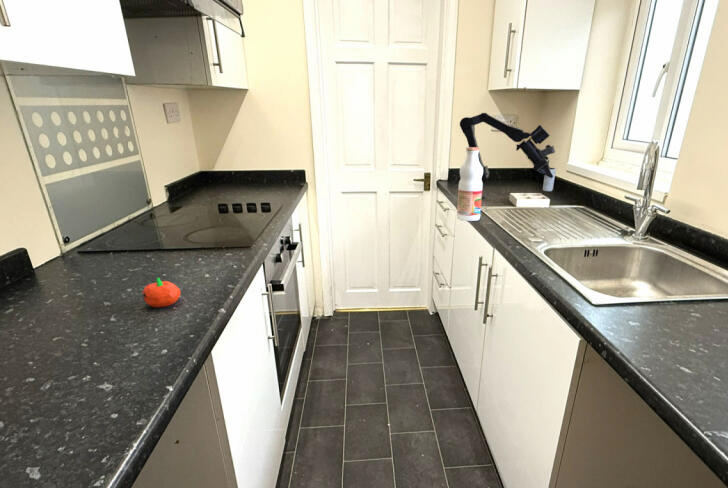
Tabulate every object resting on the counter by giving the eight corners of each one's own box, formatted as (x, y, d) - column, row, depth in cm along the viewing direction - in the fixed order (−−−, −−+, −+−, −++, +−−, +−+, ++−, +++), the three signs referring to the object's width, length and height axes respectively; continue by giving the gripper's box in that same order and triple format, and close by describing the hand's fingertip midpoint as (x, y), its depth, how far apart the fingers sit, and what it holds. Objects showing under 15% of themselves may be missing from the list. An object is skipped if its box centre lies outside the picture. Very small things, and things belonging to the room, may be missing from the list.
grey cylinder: (540, 189, 198) (543, 167, 194) (548, 189, 199) (552, 167, 195) (546, 191, 194) (549, 169, 190) (554, 191, 195) (557, 168, 191)
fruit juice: (457, 215, 173) (460, 146, 162) (479, 216, 172) (484, 146, 161) (456, 221, 164) (460, 148, 154) (480, 222, 163) (485, 148, 152)
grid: (509, 200, 203) (509, 193, 201) (539, 200, 202) (540, 193, 201) (516, 206, 189) (517, 199, 187) (548, 207, 188) (549, 199, 187)
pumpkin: (160, 314, 89) (153, 287, 87) (139, 306, 93) (132, 280, 90) (190, 302, 95) (184, 276, 93) (169, 295, 99) (163, 270, 96)
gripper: (545, 140, 180) (567, 167, 181) (546, 137, 197) (567, 162, 197) (524, 157, 186) (546, 184, 187) (527, 154, 202) (547, 178, 203)
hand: (552, 176), depth 193 cm, fingers closed on grey cylinder, 4 cm apart
